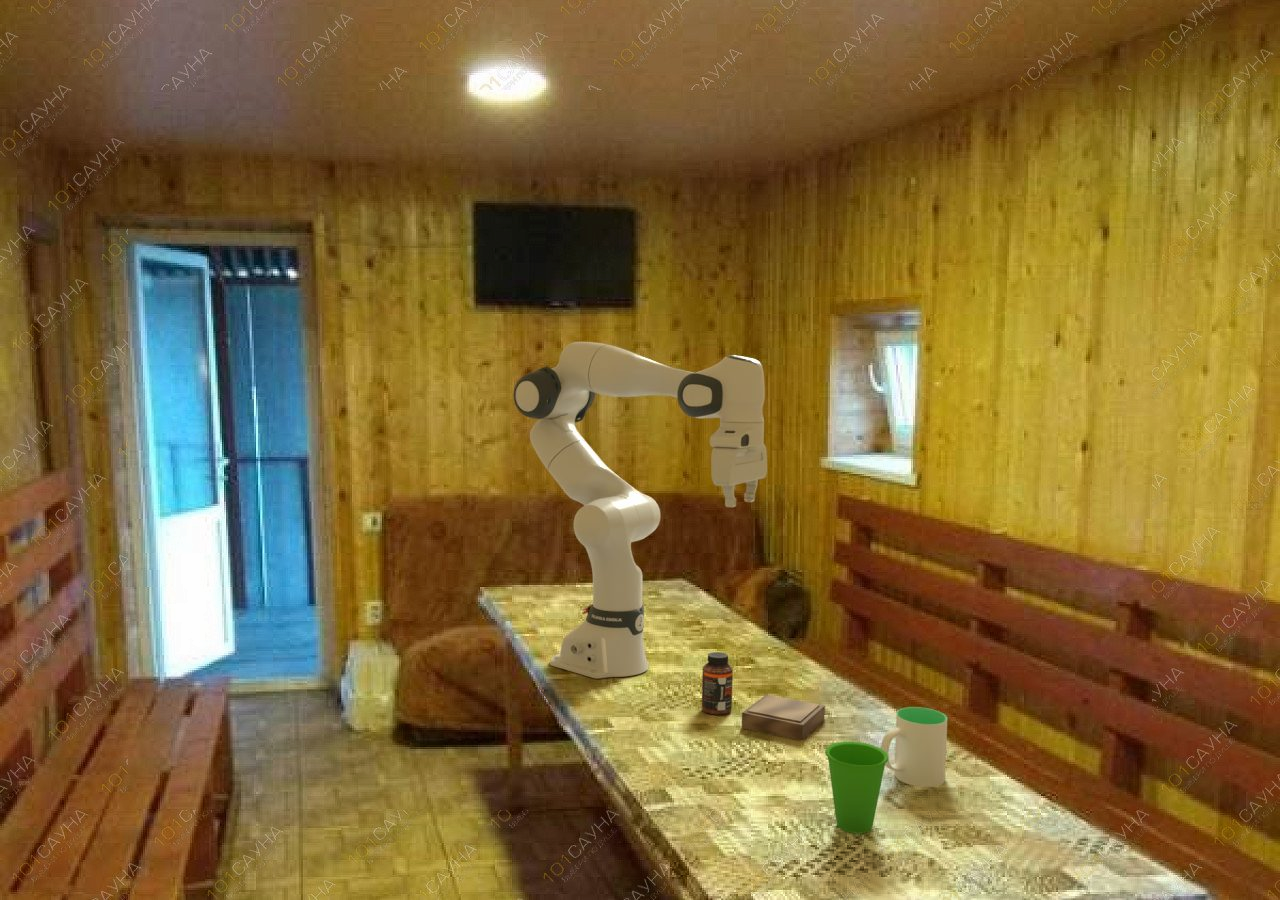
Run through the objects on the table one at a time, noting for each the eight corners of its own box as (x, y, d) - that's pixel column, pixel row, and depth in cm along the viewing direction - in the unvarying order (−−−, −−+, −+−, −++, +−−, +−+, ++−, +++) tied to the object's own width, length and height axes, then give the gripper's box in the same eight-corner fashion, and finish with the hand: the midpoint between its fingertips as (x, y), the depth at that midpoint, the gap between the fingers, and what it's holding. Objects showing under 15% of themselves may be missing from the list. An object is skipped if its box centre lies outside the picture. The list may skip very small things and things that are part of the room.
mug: (902, 795, 150) (904, 731, 150) (866, 777, 157) (868, 715, 157) (955, 780, 156) (958, 719, 156) (918, 763, 163) (921, 704, 162)
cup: (816, 812, 144) (818, 741, 143) (874, 810, 145) (876, 740, 144) (832, 841, 135) (835, 766, 134) (895, 839, 136) (897, 764, 135)
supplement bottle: (730, 717, 184) (731, 660, 183) (699, 714, 185) (700, 657, 184) (733, 706, 190) (734, 651, 189) (703, 704, 191) (704, 649, 190)
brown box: (741, 728, 178) (742, 711, 178) (766, 709, 189) (766, 692, 189) (802, 741, 172) (802, 723, 172) (824, 720, 183) (824, 704, 183)
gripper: (747, 433, 202) (746, 497, 203) (705, 438, 185) (704, 508, 186) (775, 434, 199) (773, 500, 200) (735, 439, 181) (734, 511, 183)
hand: (740, 504), depth 193 cm, fingers open, 8 cm apart
